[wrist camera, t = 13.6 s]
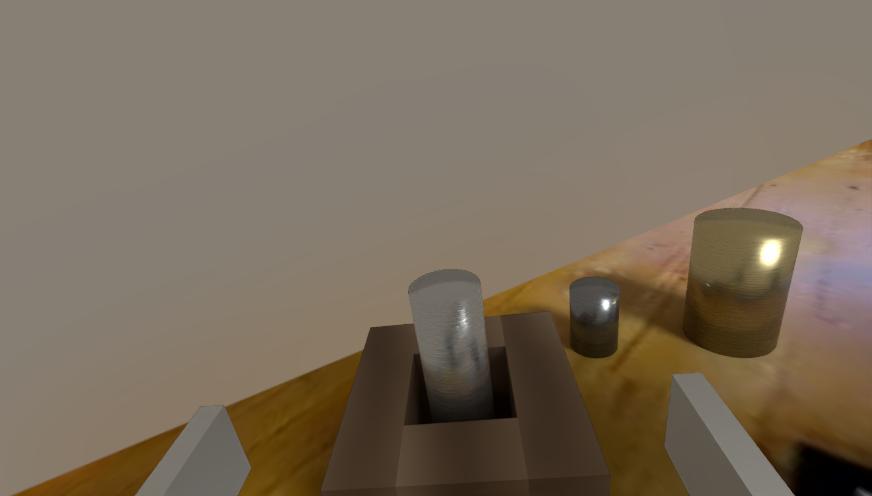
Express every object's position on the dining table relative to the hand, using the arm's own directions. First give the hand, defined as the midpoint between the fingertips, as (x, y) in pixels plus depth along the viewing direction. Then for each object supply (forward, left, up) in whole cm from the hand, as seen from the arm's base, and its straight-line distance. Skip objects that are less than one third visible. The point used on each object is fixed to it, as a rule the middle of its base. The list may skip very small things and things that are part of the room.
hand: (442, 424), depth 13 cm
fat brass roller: (-20, -19, -12) cm, 30 cm away
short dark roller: (-10, -19, -12) cm, 24 cm away
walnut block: (0, -9, -12) cm, 15 cm away
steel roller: (0, -9, -12) cm, 15 cm away
